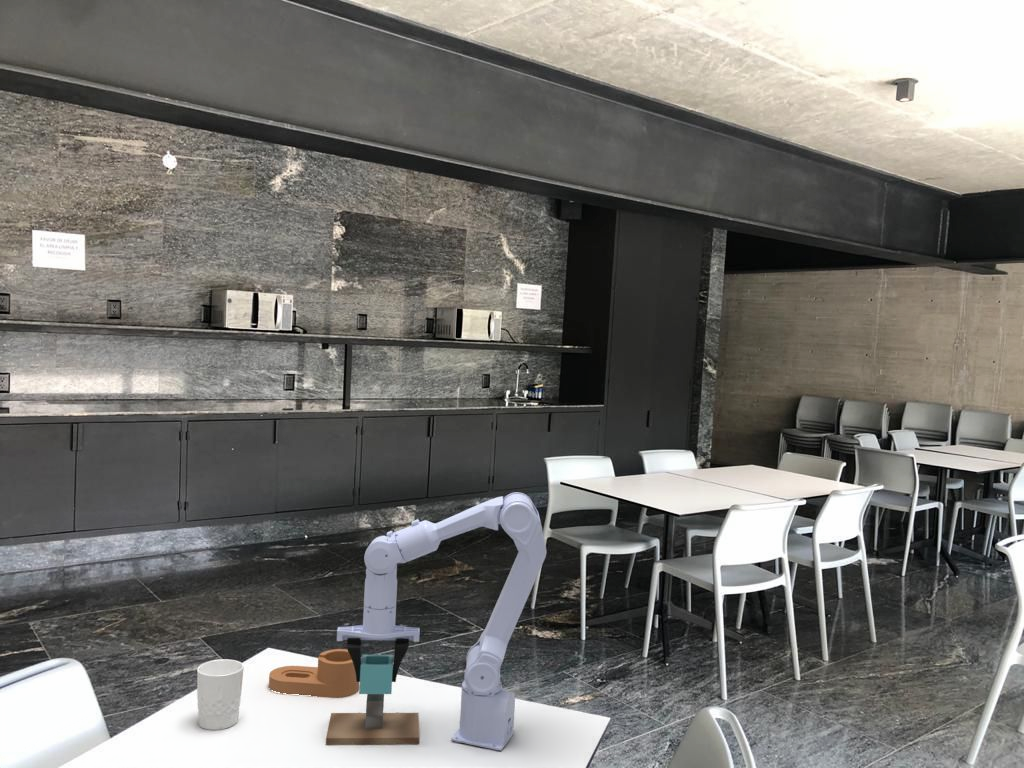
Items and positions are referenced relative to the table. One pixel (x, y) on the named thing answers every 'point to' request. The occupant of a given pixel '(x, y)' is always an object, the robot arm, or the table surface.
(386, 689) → the teal collar
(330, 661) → the bracket
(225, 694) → the white cup
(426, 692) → the table surface
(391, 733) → the post stand
